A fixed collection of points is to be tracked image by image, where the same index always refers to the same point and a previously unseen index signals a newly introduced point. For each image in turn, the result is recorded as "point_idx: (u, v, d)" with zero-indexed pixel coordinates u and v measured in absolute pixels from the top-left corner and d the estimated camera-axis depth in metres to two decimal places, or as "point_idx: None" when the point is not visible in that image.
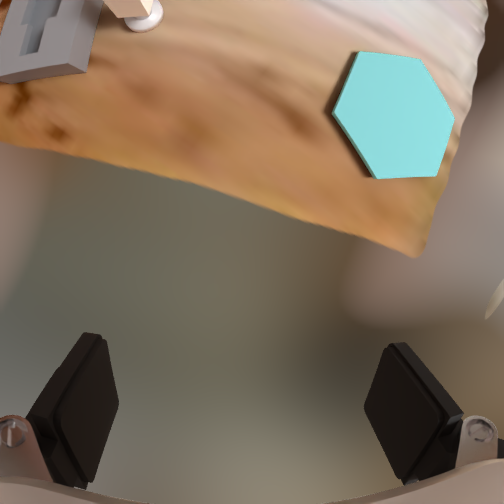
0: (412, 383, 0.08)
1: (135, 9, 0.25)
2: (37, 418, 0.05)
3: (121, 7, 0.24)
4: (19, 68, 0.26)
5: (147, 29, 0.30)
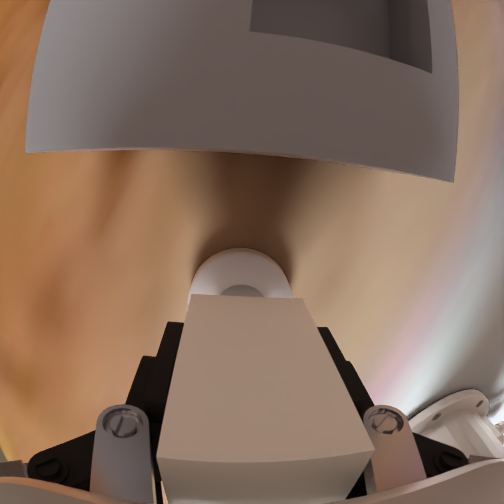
0: None
1: None
2: (151, 403, 0.06)
3: None
4: None
5: None
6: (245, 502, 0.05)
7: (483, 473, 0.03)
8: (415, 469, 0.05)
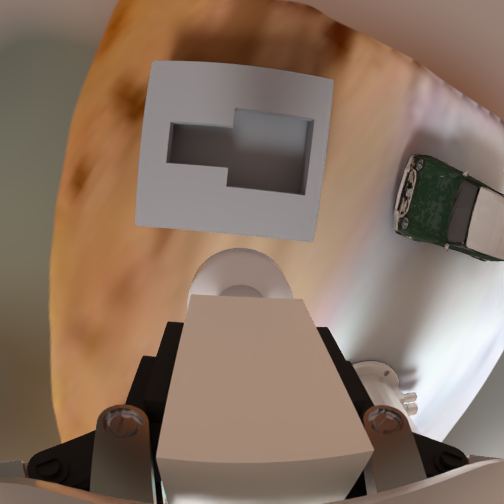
0: None
1: None
2: (151, 403, 0.06)
3: None
4: (147, 128, 0.23)
5: None
6: (244, 503, 0.05)
7: (483, 473, 0.03)
8: (415, 469, 0.05)
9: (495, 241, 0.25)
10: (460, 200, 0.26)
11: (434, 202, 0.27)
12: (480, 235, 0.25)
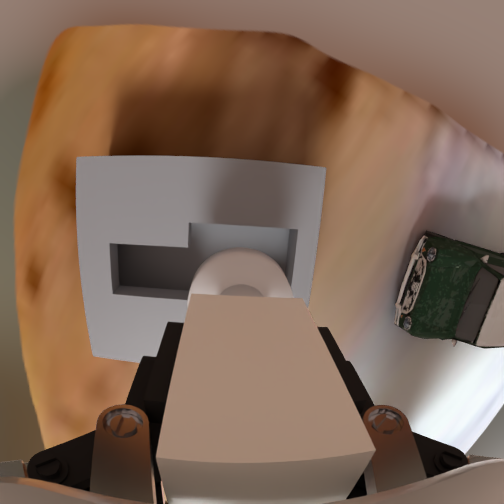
0: None
1: None
2: (151, 403, 0.06)
3: None
4: (84, 251, 0.18)
5: None
6: (245, 503, 0.05)
7: (483, 473, 0.03)
8: (415, 469, 0.05)
9: None
10: (475, 294, 0.21)
11: (444, 299, 0.22)
12: (493, 332, 0.20)
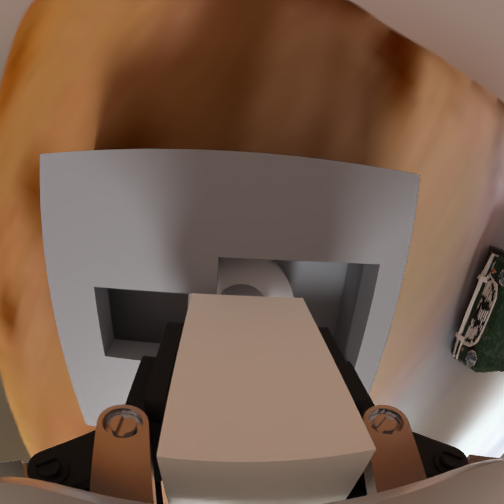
0: None
1: None
2: (151, 404, 0.06)
3: None
4: (59, 296, 0.11)
5: None
6: (246, 502, 0.05)
7: (483, 473, 0.03)
8: (415, 469, 0.05)
9: None
10: None
11: None
12: None
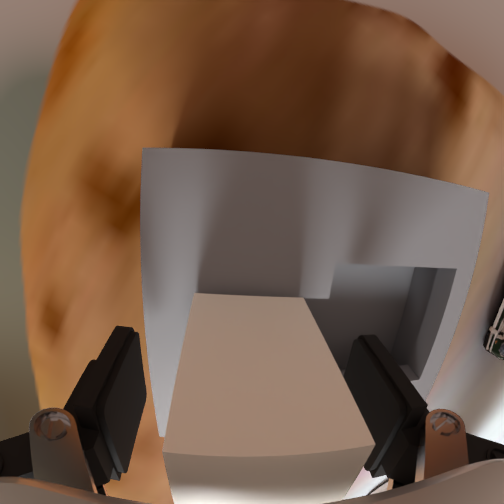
0: (377, 374, 0.08)
1: None
2: (80, 409, 0.06)
3: None
4: (154, 305, 0.12)
5: None
6: (248, 497, 0.05)
7: (483, 473, 0.03)
8: None
9: None
10: None
11: None
12: None
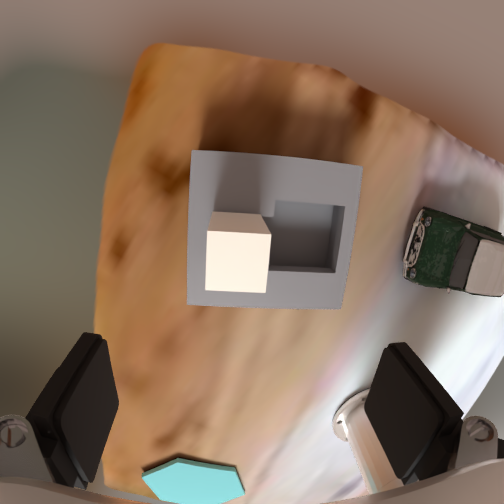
0: (412, 383, 0.08)
1: None
2: (37, 418, 0.05)
3: None
4: (193, 219, 0.27)
5: None
6: (232, 258, 0.20)
7: (483, 473, 0.03)
8: None
9: (491, 283, 0.29)
10: (461, 251, 0.30)
11: (439, 254, 0.31)
12: (478, 281, 0.29)
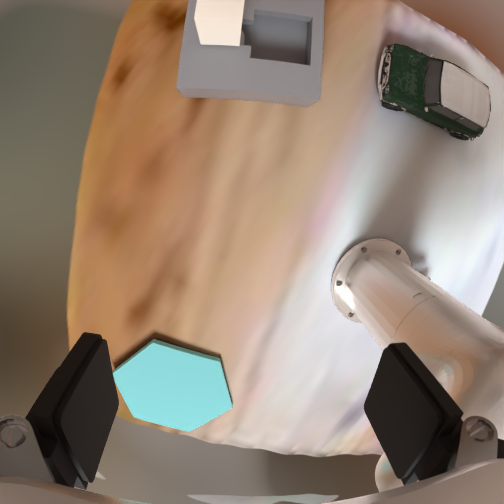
0: (412, 383, 0.08)
1: None
2: (37, 418, 0.05)
3: None
4: (189, 21, 0.26)
5: None
6: None
7: (483, 473, 0.03)
8: None
9: (467, 104, 0.29)
10: (429, 72, 0.29)
11: (408, 73, 0.30)
12: (452, 96, 0.28)
